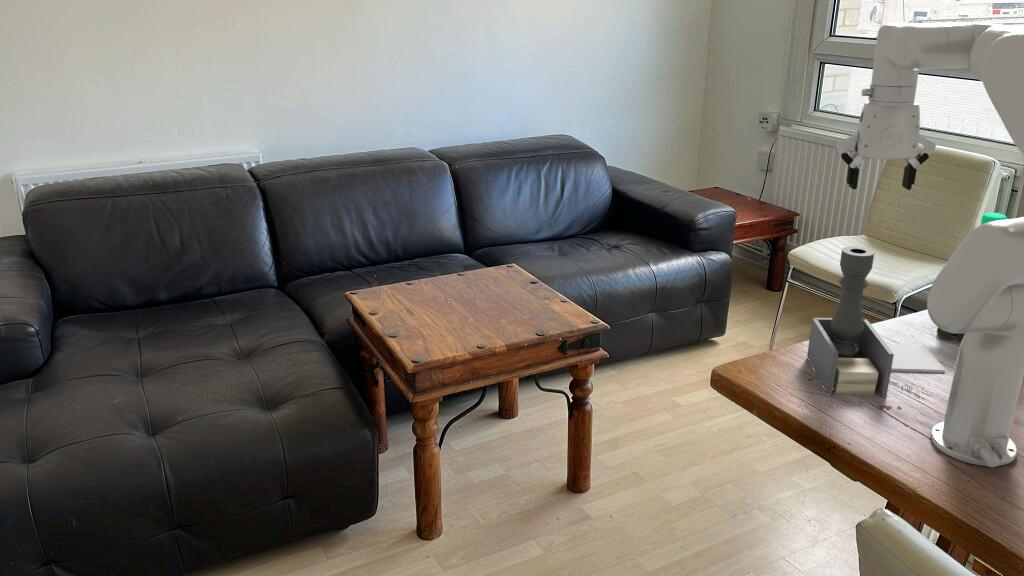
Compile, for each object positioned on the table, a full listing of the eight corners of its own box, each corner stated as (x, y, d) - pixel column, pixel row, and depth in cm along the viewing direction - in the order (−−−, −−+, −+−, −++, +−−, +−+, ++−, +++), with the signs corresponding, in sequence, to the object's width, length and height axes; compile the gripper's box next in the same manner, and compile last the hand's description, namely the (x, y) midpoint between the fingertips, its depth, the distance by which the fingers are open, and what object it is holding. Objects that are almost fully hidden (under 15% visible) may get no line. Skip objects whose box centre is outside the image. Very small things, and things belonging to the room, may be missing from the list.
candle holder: (861, 376, 159) (881, 256, 150) (830, 376, 160) (847, 256, 150) (850, 362, 165) (868, 245, 156) (819, 362, 165) (835, 246, 156)
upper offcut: (876, 384, 152) (878, 372, 151) (837, 383, 153) (839, 371, 152) (866, 370, 157) (868, 358, 157) (829, 369, 158) (830, 357, 157)
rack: (886, 397, 152) (893, 354, 148) (827, 395, 153) (834, 352, 149) (860, 359, 166) (866, 318, 163) (807, 357, 167) (812, 317, 164)
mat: (944, 372, 160) (945, 369, 160) (881, 370, 162) (882, 368, 161) (922, 346, 172) (922, 343, 171) (863, 344, 173) (863, 342, 172)
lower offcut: (873, 396, 153) (875, 384, 152) (835, 395, 154) (837, 383, 153) (863, 381, 159) (865, 369, 158) (827, 380, 159) (828, 368, 158)
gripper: (847, 97, 144) (836, 192, 150) (950, 97, 142) (935, 193, 148) (837, 92, 151) (826, 183, 157) (935, 92, 149) (921, 184, 155)
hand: (879, 187), depth 153 cm, fingers open, 9 cm apart
